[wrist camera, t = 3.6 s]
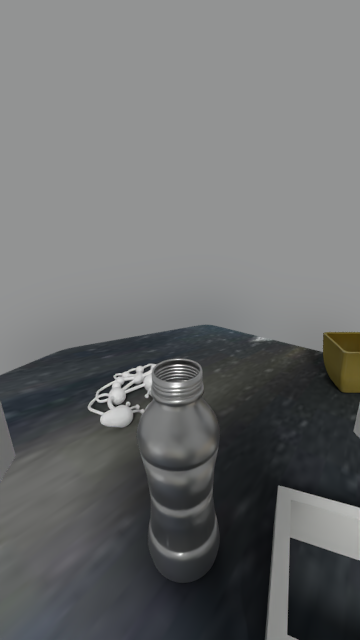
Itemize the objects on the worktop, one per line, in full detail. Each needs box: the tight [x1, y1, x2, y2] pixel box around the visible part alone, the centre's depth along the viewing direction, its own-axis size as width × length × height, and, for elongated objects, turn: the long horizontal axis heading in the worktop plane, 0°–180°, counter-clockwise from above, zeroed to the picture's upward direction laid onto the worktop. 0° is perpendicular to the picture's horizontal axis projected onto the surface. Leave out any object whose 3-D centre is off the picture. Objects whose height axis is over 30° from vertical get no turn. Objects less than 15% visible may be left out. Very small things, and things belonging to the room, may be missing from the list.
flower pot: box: [323, 332, 360, 393], centre depth 52 cm, size 9×9×9 cm
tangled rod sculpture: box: [88, 364, 156, 428], centre depth 52 cm, size 19×14×4 cm
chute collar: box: [265, 485, 360, 640], centre depth 22 cm, size 12×12×5 cm
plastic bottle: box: [136, 359, 220, 583], centre depth 24 cm, size 6×7×20 cm
